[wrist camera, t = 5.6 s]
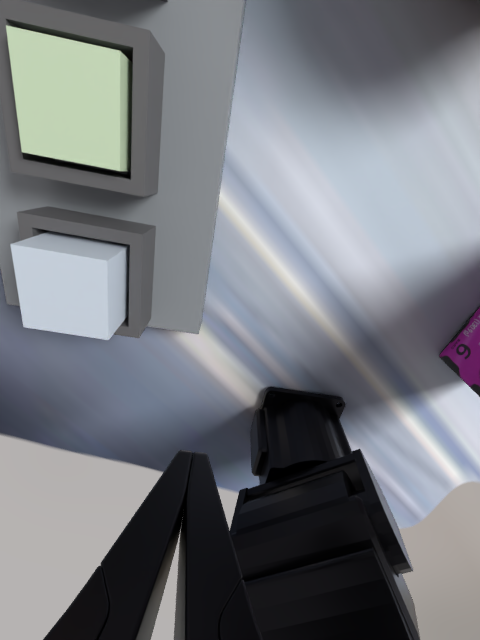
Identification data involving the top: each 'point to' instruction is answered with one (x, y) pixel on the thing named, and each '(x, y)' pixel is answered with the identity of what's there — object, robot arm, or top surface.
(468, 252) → the top surface
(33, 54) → the sage button
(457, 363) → the candy bar box
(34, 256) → the slate button
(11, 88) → the button panel
